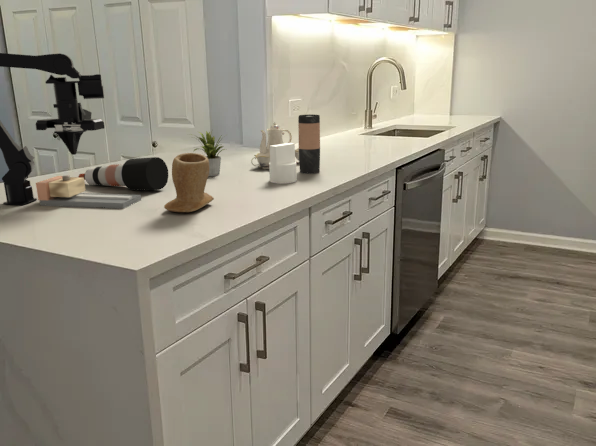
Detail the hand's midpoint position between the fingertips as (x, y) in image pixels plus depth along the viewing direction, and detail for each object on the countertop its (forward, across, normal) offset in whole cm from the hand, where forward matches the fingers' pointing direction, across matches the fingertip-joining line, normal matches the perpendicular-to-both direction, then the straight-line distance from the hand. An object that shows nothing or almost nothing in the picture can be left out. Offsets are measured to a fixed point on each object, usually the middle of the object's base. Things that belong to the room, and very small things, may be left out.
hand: (73, 154), depth 158 cm
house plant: (+13, -26, -39) cm, 49 cm away
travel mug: (+13, -61, -48) cm, 79 cm away
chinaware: (+13, -47, -62) cm, 79 cm away
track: (+13, -7, +5) cm, 16 cm away
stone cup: (+13, -39, +7) cm, 42 cm away
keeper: (+11, 0, +5) cm, 12 cm away
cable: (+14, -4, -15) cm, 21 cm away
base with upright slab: (+13, -55, -32) cm, 65 cm away
